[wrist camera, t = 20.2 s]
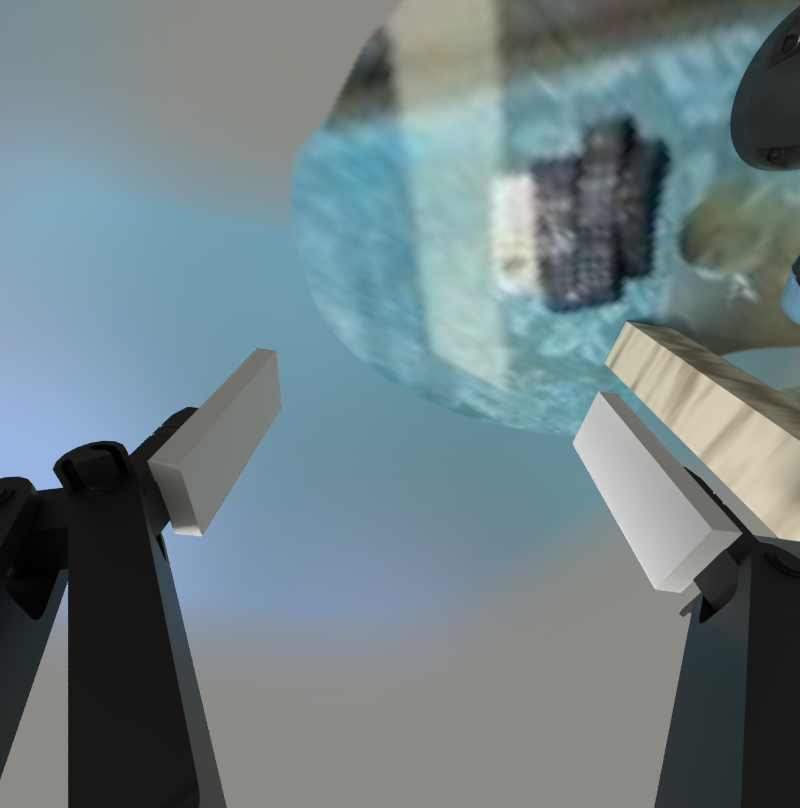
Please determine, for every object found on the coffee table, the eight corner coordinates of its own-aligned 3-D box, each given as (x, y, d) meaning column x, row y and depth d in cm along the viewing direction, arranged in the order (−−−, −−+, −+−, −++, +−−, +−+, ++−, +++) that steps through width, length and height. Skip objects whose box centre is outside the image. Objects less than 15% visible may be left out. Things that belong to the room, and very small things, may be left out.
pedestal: (600, 365, 55) (822, 596, 25) (624, 317, 51) (931, 525, 20) (648, 373, 56) (927, 610, 25) (677, 325, 51) (1056, 542, 21)
